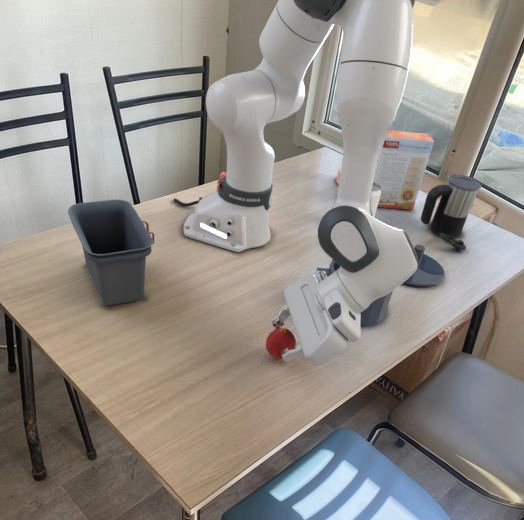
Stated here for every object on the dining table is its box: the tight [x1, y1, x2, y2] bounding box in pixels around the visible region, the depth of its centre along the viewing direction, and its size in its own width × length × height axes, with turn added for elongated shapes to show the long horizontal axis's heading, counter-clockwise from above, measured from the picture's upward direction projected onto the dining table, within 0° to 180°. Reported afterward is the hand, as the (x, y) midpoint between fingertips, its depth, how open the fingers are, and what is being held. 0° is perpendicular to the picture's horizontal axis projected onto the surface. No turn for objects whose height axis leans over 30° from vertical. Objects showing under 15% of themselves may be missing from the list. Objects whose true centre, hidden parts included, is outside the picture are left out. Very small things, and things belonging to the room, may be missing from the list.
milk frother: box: [420, 173, 482, 251], centre depth 145 cm, size 14×16×15 cm
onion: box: [265, 326, 297, 360], centre depth 102 cm, size 6×6×8 cm
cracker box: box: [373, 129, 435, 211], centre depth 154 cm, size 14×6×21 cm, turn 92°
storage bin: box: [67, 199, 155, 306], centre depth 113 cm, size 21×16×14 cm
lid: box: [407, 244, 445, 287], centre depth 133 cm, size 16×16×7 cm
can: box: [370, 182, 381, 218], centre depth 145 cm, size 6×6×12 cm
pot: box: [315, 259, 408, 327], centre depth 117 cm, size 14×20×10 cm
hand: (278, 340), depth 102 cm, fingers open, 8 cm apart
